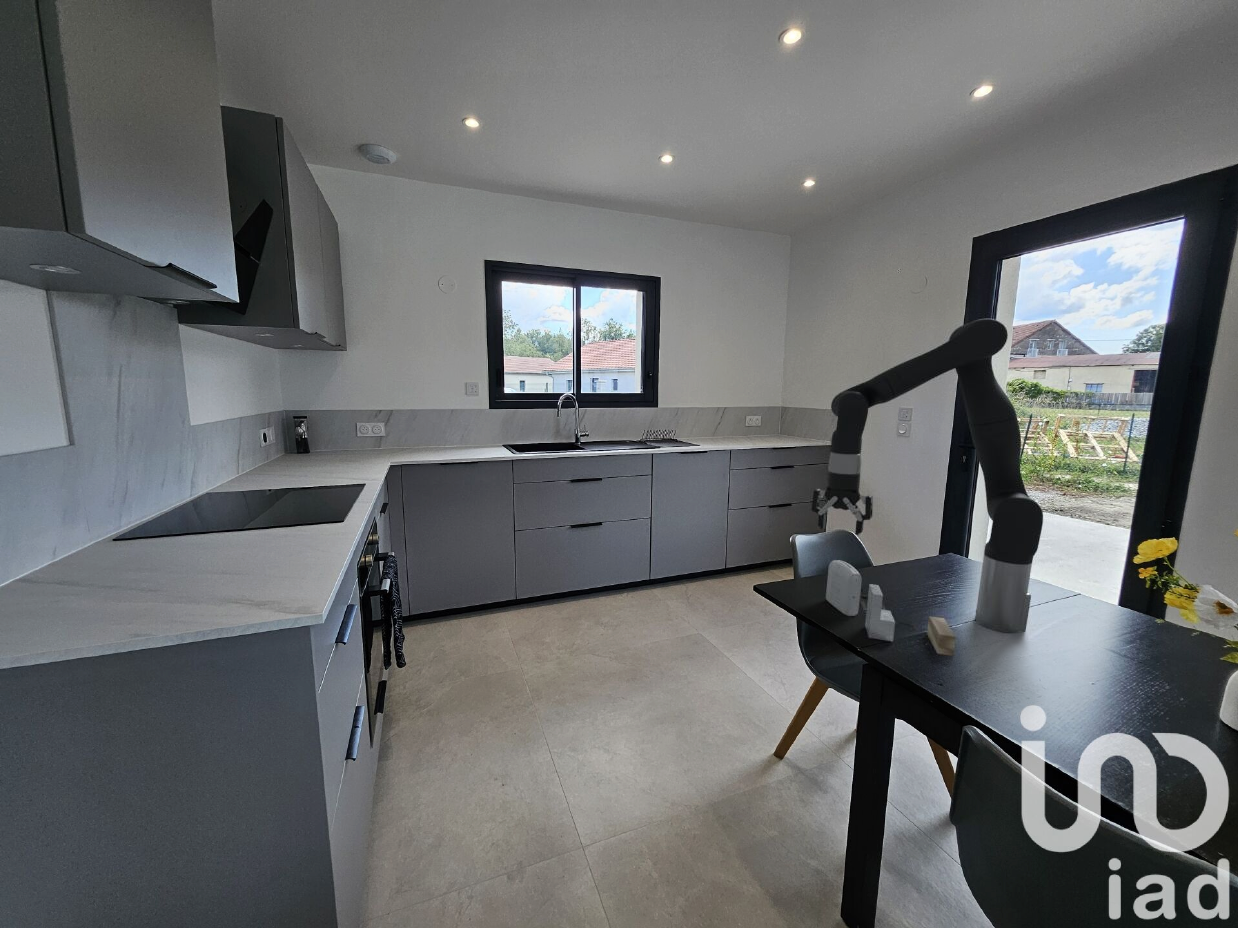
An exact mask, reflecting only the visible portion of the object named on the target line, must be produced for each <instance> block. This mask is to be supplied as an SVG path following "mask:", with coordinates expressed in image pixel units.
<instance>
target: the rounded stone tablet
mask: <svg viewBox="0 0 1238 928" xmlns="http://www.w3.org/2000/svg"><path fill="white" fill-rule="evenodd" d="M827 573H828V574H827V581H826V582H827V584H826V593H825V599H826V600H827V602H828V603H829V604H830V605H832V606H833V607H834V608H835V609H837V610H838V611H839V612H840V613H842V614H843V615H846V616H848V617H855V616H857V615H858V613H859V609H860V592H861V593H862V591H861V588H862V581H863V579H862V576H861V574H860V572H859V571H858V570H857V569H856V568H855V567H854V566H853V565H851V564H850V563H847V562H846V561H844V560H839V559H838V560H836V559H835V560H832V561H831V562H830V563H829V565H828V571H827Z"/></svg>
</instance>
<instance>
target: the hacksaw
mask: <svg viewBox="0 0 1238 928" xmlns="http://www.w3.org/2000/svg"><path fill="white" fill-rule="evenodd" d="M861 590H862V591H863V588H862V587H861ZM862 591H861V592H860V601H859V604H860V605H861V608H862V609H863V610H862V611H863V612H865V613H867V611H864V610H867V604H866V602H865V600H864V598H865V599H868V594H862ZM882 594H883V598H884V597H885V595H884V593H883V592H882ZM882 610H888V609H887V607H886V605H885V603H884V601H882ZM892 616H893V618H894V621H895V625H897V623H900V624H902V625H906V626H909V627H911V628H912V630H908V629H906V630H905V631H906V632H913V631H915V630H916V628H915V627H914V626H913V625H911V624H910V623H909V624H908V623H905V622H902V621H899V620H897V619H896V618H895V616H894V615H892Z"/></svg>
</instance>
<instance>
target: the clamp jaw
mask: <svg viewBox="0 0 1238 928" xmlns="http://www.w3.org/2000/svg"><path fill="white" fill-rule="evenodd" d="M868 585H869V586H868V594H867V595H868V598H867V604H866V606H867V611H866V612H865V615H866V616H865V623H864V626H865V629H866V633H867V637H868V638H869V639H876V640H882V641H887V642H892V643H893V642H894V637H895V636H894V635H895V627H896V626H895V625H896V624H895V621H896V620H895V619H894V618H895V617H894V618H893V616H894V615H892V611H891V610H888V609H887V610H882V602H883V598H884V597H883V596H884V595H883V594H884V593H883V592H882V590H881V588H880V586H879V585H878V584H872V583H871V584H870V583H869V584H868ZM882 593H883V594H882Z"/></svg>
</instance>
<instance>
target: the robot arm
mask: <svg viewBox="0 0 1238 928" xmlns="http://www.w3.org/2000/svg"><path fill="white" fill-rule="evenodd" d="M1008 334H1009V333H1008V330H1007V327H1006V326H1005V325H1004V324H1003V323H1002V322H1001V321H999V320H997V319H995V318H994V319H993V318H980V319H976V320H973V321H971V322H968V323H965V324H963V325H961V326H959V327H957V328H956V329H954V331H952V332H951V335H950V336H949V338H948V341H946V342H945V343H942V344H941V345H938V346H937V347H935V348H934V349H931V350H929V351H927V352H925V353H922V354H920V355H917V356H916V357H913V358H911V359H908V360H906V361H904V362H900V364H897V365H895V366H893V367H891V368H889V369H887V370H885V371H883V372H881V373H879V374H877V375H876V376H874V377H872V378H871V379H868V380H867V381H864V382H862V383H858V384H856V385H854V386H851V387H849V388H847V389H845V390H843V391H841V392H839V393H837V395H835V396H834V397H833V399H832V400H831V405H830V407H831V412H832V414H833V415H834V416H835V417H837V419H836V426H835V430H834V431H833V432H832V436H831V442H830V455H829V457H828V458H829V459H828V465H827V469H828V470H827V471H828V472H827V480H826V481H827V487H826V490H822V489H820V488H816V489H814V490H813V494H812V503H811V509H810V510H811V511H812V512H813V513H816V514H817V515H818V523H817V525H818V527H820V528H819V529H820V530H824V529H825V528H826V521H827V514H826V513H827V512H828V511H829V510H830V508H833V509H836V510H839V509H840V510H843V511H848V510H849V511H850V513H851V514H852V515H854V517H855V518H856V521H855V536H859V535H860V534H862V533H863V531H864V525H865V523H864V521H869V520H871V519H872V517H873V511H874V510H873V508H874V504H873V503H874V499H873V495H872V494H868V495H861V493H860V483H861V473H862V472H861V471H862V457H861V456H862V444H863V433H864V430H865V428H866V423H867V419H868V416H869V409H870V408H873V407H875V406H877V405H880V404H882V405H883V404H885V403H889V402H891V401H893V400H895V399H897V398H898V397H899V398H900V397H901V396H903V395H905V394H907V393H908V392H910V391H912V390H914V389H916V388H919V387H920V386H922V385H923V384H926V383H928V382H929V381H931V380H933V379H935V378H937V377H938V376H941V375H943V374H945V373H947V372H950V371H952V370H955V372H956V375H957V378H958V381H959V383H960V387H961V392H962V393H961V394H962V398H963V402H964V406H965V410H966V411H965V412H966V415H967V421H968V426H969V427H968V428H969V431H970V434H971V439H972V442H973V446H974V448H975V453H976V457H977V459H978V462H979V465H980V468H981V471H982V475H983V480H984V488H985V489H984V490H985V498H986V500H985V501H986V510H987V513H988V516H989V518H990V519H991V521H992V524H991V529H990V530H991V531H990V536H989V539H988V541H987V542H986V543H985V545H984V551H983V559H982V565H981V572H980V580H979V589H978V594H977V602H976V609H975V615H974V618H975V621H976V622H977V623H978V624H980V625H982V626H983V627H986V628H989V629H992V630H995V631H999V632H1002V633H1021V632H1022V633H1026V630H1027V625H1028V618H1029V614H1030V613H1029V611H1030V605H1031V600H1032V599H1031V598H1032V595H1031V594H1030V593H1029V587H1030V586H1029V585H1030V579H1031V573H1032V567H1033V565H1032V564H1033V560H1034V556H1035V555H1036V553H1037V551H1038V549H1039V545H1040V540H1041V539H1040V538H1041V535H1042V529H1043V524H1044V513H1043V512H1044V511H1043V509H1042V507H1041V505H1040V504H1039V503H1038V502H1037V501H1035V500H1034V499H1032V498H1031V497H1029V495H1028V492H1027V490H1026V487H1025V483H1024V480H1023V477H1022V473H1021V465H1020V464H1021V462H1020V461H1021V452H1022V451H1021V450H1022V436H1021V429H1020V425H1019V421H1018V417H1017V412H1016V410H1015V406H1014V405H1013V403H1012V401H1011V400H1010V397H1008V395H1007V394H1006V392H1005V391H1004V390H1003V389H1002V387H1001V385H1000V384H999V383H998V381H997V379H996V376H995V373H994V369H993V363H992V359H991V357H993V356H995V355H996V354H997V353H999V352H1000V351H1001V350H1003V348H1004V347H1005V345H1006V343H1007V341H1008ZM823 496H825V498H826V500H827V502H826V503H825V504H824V505H823V507H822V508H821V507H820V501H821V498H823ZM860 500H861V502H862V504H863V505H865V506H864V507H865V510H864V512H865V513H863V512H862V511H861V509H860V507H859V506H858V502H859V501H860Z"/></svg>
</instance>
